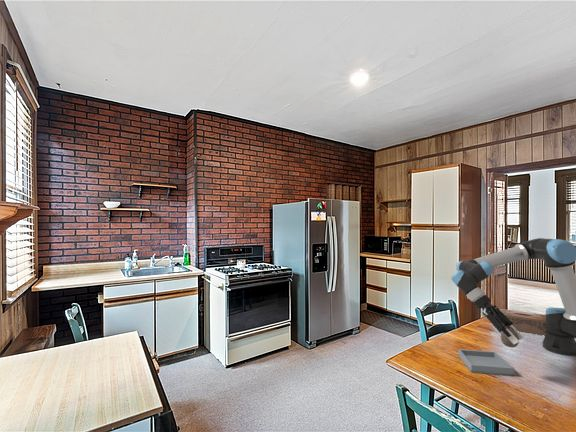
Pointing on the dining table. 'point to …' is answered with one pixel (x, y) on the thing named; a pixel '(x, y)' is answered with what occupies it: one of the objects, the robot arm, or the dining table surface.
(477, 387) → the dining table surface
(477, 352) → the box
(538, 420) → the dining table surface
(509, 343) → the vase
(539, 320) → the tissue box cover
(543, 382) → the dining table surface
